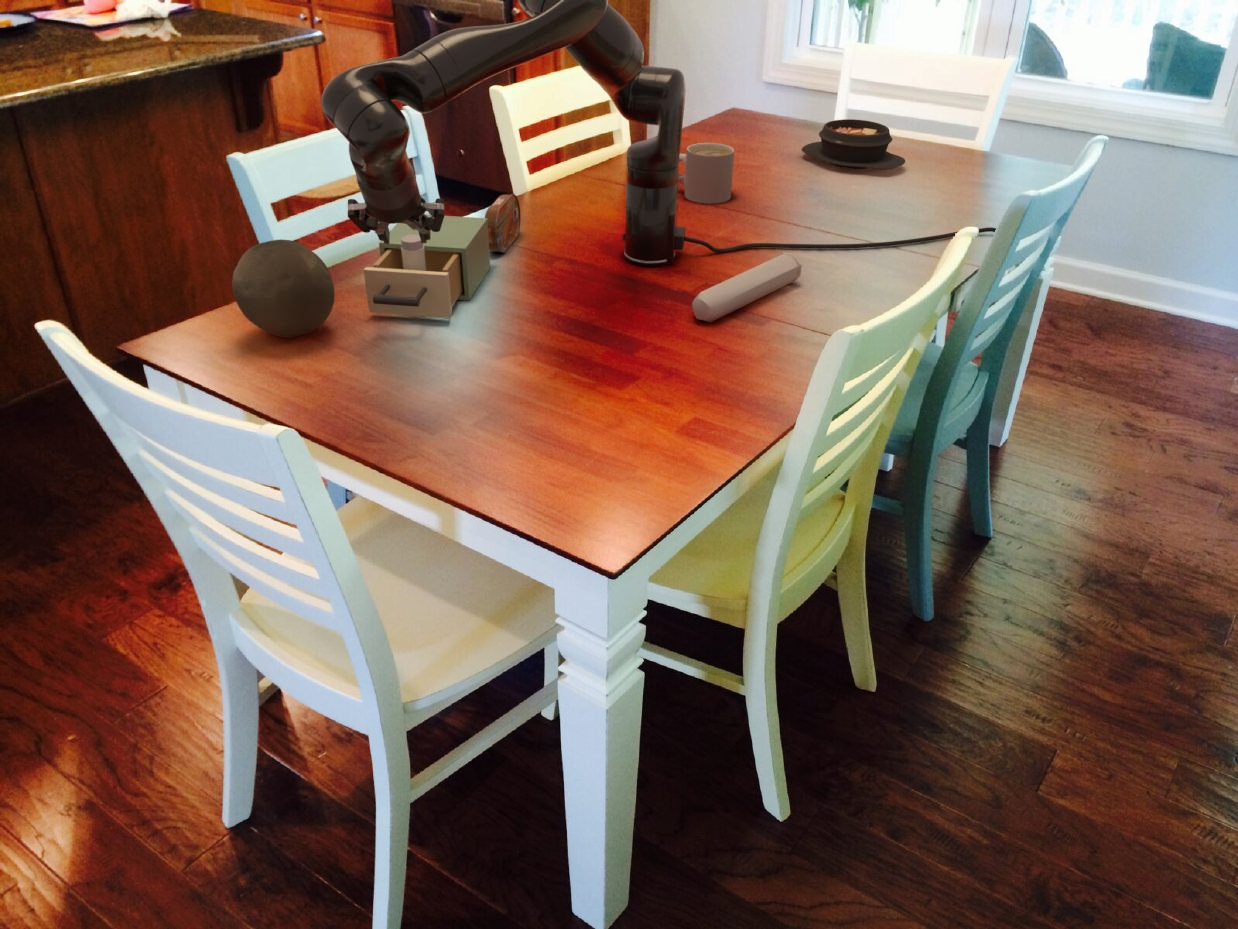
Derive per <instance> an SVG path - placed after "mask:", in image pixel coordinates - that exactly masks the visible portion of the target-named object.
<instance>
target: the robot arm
mask: <svg viewBox="0 0 1238 929" xmlns="http://www.w3.org/2000/svg"><path fill="white" fill-rule="evenodd" d="M516 1H517V3H518V5H519V6H520V7H521V8H522V10H523V11H524V12H525V13H526V14H527V15H528V16H530V17H528V18H525V19H523V20H519V21H515V22H509V23H504V24H493V25H492V24H491V25H477V26H466V27H457V28H454V29H450V30H447V31H445V32H441V33H440V34H437V35H436V36H434V37H432V38H430V39H428V40H427V41H425V42H424V43H422V44H420V45H418V46H417V47H415V48H413V49H412V50H410V51H408V52H407V53H406V54H403V55H400V56H397V57H392V58H386V59H382V60H380V61H379V60H378V61H375V62H371V63H366V64H362V65H358V66H355V67H350V68H347V69H346V70H343V71H342V72H340V73H338V74H337V75H336V76H334V77H333V78H332V79H331V80H330V81H329V82H328V83H327V85H325V88H324V89H323V92H322V94H321V98H320V106H321V110H322V113H323V114H324V115H325V117H326V119H327V120H328V121H329V122H330V123H331V124H332V125H333V127H334V128H335V129H337V131H338V132H339V133H340V134H341V135H342V137H344V138H345V140H346V141H347V142H348V155H349V159H350V162H351V165H352V167H353V170H354V172H355V178H356V182H357V186H358V188H359V191H360V193H361V196H362V198H363V200H364V202H358V200H356V199H355V198H349V199H348V200H347V218H348V219H349V220H350V221H351V222H352V223H353V224H354V225H355V226H356V227H357V228H358V229H359V230H360V231H361V232H362V233H365V234H369V233H371V231H373V232H374V234H376V236H377V238H378V240H379V241H384V243H385V244H389V243H390V228H389V225H391V224H393V225H394V224H395V225H396V224H397V223H404V224H407V225H408V226H409V227H410V228H411V229H413V230H418V231H419V236H420V239H421V242H422V243H427V240H430V230H432V231H433V232H439V231H440V229H441V226H442V222H443V219H444V216H445V199H444V198H441V197H439V198H436V199H435V201H432V202H429V201H428V202H427V201H426V200H425V198H423V197H422V196H421V193H420V189H419V185H418V182H417V176H416V172H415V170H414V168H413V165H412V163H411V161H410V159H409V156H408V153H407V152H408V151H407V147H408V143H409V138H410V134H411V130H410V125H409V122H408V120H407V118H406V116H405V115H404V113H403V112H402V110H401V109H400V108H399V106H397V104H395V103H394V102H393V101H395V102H400V103H402V104H404V105H406V106H407V107H409V108H410V109H412V110H414V111H416V112H417V113H419V114H429V113H432V112H434V111H436V110H437V109H439V108H441V107H443V106H444V105H446V104H447V103H449V102H450V101H452V100H454V99H455V98H457V97H459V96H460V95H462V94H463V93H465V92H467V91H468V90H470V89H471V88H473V87H475V86H476V85H479V84H480V83H482V82H484V81H486V80H488V79H490V78H492V77H494V76H496V75H498V74H501V73H503V72H505V71H507V70H510V69H514V68H516V67H519V66H522V65H524V64H526V63H529V62H532V61H534V60H535V61H536V60H537V59H539V58H542V57H545V56H547V55H548V54H552V53H555V52H557V51H558V50H562V49H564V48H565V49H566V50H567V51H568V52H569V54H570V55H571V56H572V58H573V59H574V61H575V62H576V63H577V64H578V65H579V67H581V69H582V70H583V71H584V72H585V73H586V74H587V75H588V76H589V77H590V78H591V79H592V80H593V81H595V82H596V83H597V84H598V85H599V86H600V88H602V89H603V91H604V92H605V93H606V94H607V95H608V96H609V98H610V100H611V101H612V103H613V104H614V106H615V107H616V109H617V111H618V112H619V114H620V115H621V116H622V117H623V118H624V119H625V120H627V121H629V122H632V123H635V124H643V125H651V126H657V127H658V131H657V135H655V136H653V137H651V138H647V139H644V140H640V141H636V142H633V143H632V144H631V145H629V146H628V148H627V149H626V163H625V164H626V166H625V167H626V168H625V169H626V170H625V214H624V215H625V216H624V218H625V219H624V220H625V221H624V234H622V242H624V251H623V257H624V259H625V260H626V261H627V262H629V263H631V264H634V265H638V266H645V267H656V266H657V267H659V266H664V265H674V262H675V259H676V253H677V251H683V250H684V247H685V243H686V242H688V243H693V244H697V245H700V246H703V247H706V248H707V249H708V250H710V251H711V252H713V253H718V254H726V253H732V252H736V251H740V250H744V249H745V250H746V249H751V248H773V249H774V248H775V249H813V250H815V249H819V250H822V249H825V250H827V249H829V250H830V249H835V250H836V249H867V248H880V247H893V246H901V245H902V246H903V245H910V244H917V243H924V242H930V241H937V240H943V239H948V238H954V237H956V236H955V233H957V232H958V231H954V232H948V233H943V234H937V235H931V236H925V237H924V236H923V237H918V238H917V237H916V238H910V239H909V238H908V239H902V240H900V239H899V240H892V241H881V242H866V243H829V244H828V243H776V242H775V243H774V242H754V243H753V242H751V243H744V244H739V245H736V246H732V247H726V248H718V247H715V246H713V245H712V244H711V243H709V242H707V241H705V240H701V239H698V238H693V237H689V236H686V226H678V213H679V203H678V192H679V182H678V174H680V173H679V172H680V171H679V170H680V161H679V156H680V154H681V148H682V137H683V136H682V135H683V122H684V114H685V104H686V90H687V88H686V86H687V85H686V80H685V75H684V74H683V72H682V71H681V70H680V69H678V68H673V67H663V66H654V65H643V64H644V57H645V50H644V45H643V42H642V40H641V39H640V37H639V35H638V33H637V32H636V31H635V30H634V28H633V27H632V26H631V24H630V23H629V21H627V19H626V18H624V16H623V15H622V14H621V13H620V12H618V11H617V10H616V9H615V8H614V7H612V6H611V4H609V0H516ZM426 212H428V214H426ZM427 215H432V217H428V216H427ZM978 229H979V233H978V234H982V233H988V232H990V233H991V232H992V233H995V230H996V227H989V226H988V227H981V228H978ZM953 236H954V237H953Z"/></svg>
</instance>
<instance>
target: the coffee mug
mask: <svg viewBox="0 0 1238 929" xmlns="http://www.w3.org/2000/svg"><path fill="white" fill-rule="evenodd" d="M734 159H735V149H734V148H733V147H732V146H730V145H728V144H724V143H718V142H699V143H692V144H689V146H687V147H686V153H680V156H679V162H682V163H683V165H684V171H683V172H684V173H683V174H680V173H679V174H678V184H681V185H683V187H684V194H683V195H684V197H685V199H686V200H688V201H691V202H693V203H698V204H704V205H705V204H707V205H713V204H723V203H726V202H728V201H730V200H731V198H732V185H733V172H734Z"/></svg>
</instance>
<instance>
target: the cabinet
mask: <svg viewBox="0 0 1238 929" xmlns="http://www.w3.org/2000/svg"><path fill="white" fill-rule="evenodd" d="M426 215H427V216H428V217H432V215H430V214H426ZM389 232H390V243H389V244H385V243H384V241H381V240H379V242H378V246H379V254H380V257H381V256H382V255H383V254H384V253H385V252H386V251H387V250H388V249H389V248H397V249H401V247H402V246H401V238H402V237H403V236H406V235H419V231H418V230H413V229H411V228H410V227H409V226H408V225H407V224H404V223H395V225H394V226H393V227H392V228H391V229H390V230H389ZM423 245H424V250H428V251H443V252H459V253H461V254H462V268H463V281H464V290H463V291H462V293H461V294H460V296H459V297H458V299H457V300H458V301H459V300H460V301H470V300H471V299H472V297H473V295H474V294H475V292H476V291H477V289H478V287H480V285H481V283H482V281H483V280H484V278H485V277H486V275H487V274H488V272H489V270H490V269H491V257H490V256H491V254H490V250H489V237H488V220H487V218H485V217H471V216H454V215H444V219H443V222H442V226H441V229H440V231H439V232H433V231H432V230H430V240H427V243H423Z"/></svg>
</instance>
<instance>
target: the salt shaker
mask: <svg viewBox="0 0 1238 929" xmlns="http://www.w3.org/2000/svg"><path fill="white" fill-rule="evenodd" d="M401 246H402V247H401V252H402V261H403V269H404V270H419V271H426V261H425V250H424V245H423V243H422V242H421V239H420V236H419V235H406V236H403V237H402V238H401Z"/></svg>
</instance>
